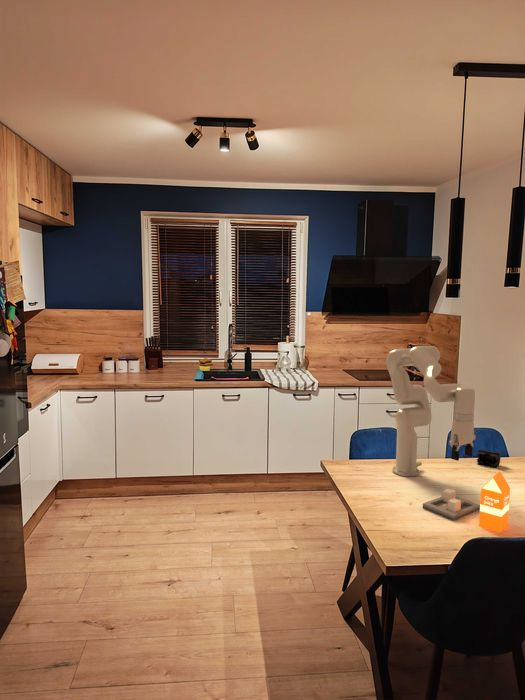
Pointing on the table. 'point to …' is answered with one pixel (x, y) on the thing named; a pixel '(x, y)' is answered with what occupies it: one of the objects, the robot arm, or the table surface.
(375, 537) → the table surface
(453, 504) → the tab
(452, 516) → the switch board
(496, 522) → the orange juice
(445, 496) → the tab
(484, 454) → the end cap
